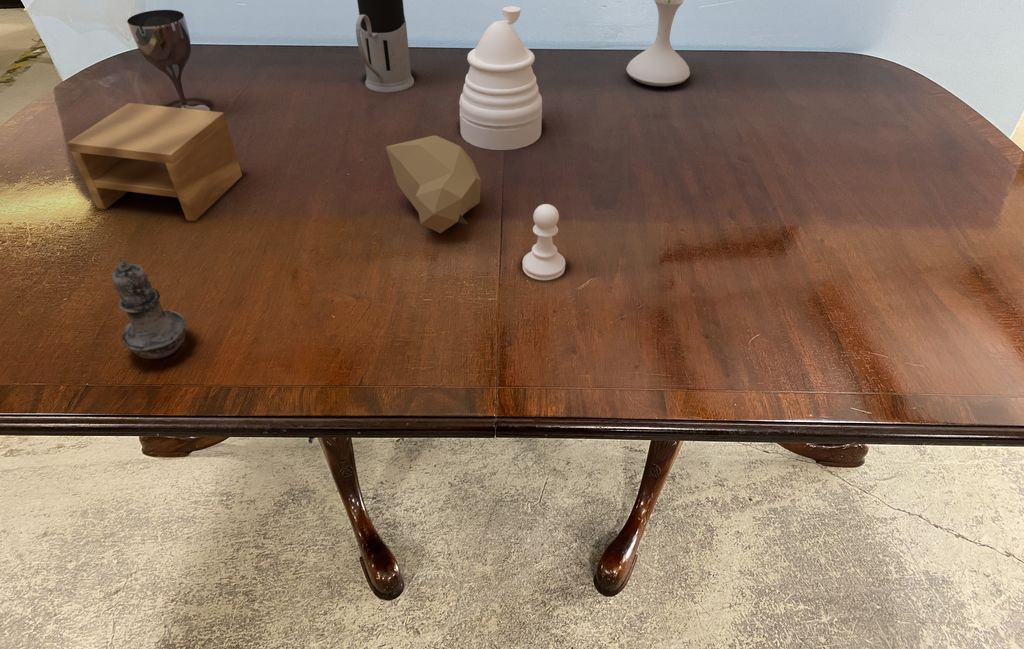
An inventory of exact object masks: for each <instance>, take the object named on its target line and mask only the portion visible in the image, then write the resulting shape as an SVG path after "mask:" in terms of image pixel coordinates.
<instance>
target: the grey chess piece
mask: <svg viewBox="0 0 1024 649" xmlns="http://www.w3.org/2000/svg"><path fill="white" fill-rule="evenodd" d="M117 265H118V267H117V268H115V269H114V270H113V272H112V273H111V282H112V284H113V286H114V289H115V290H116V293H117V295H118V296H119V298H120V299H119V301H118V306H119V309H120V310H121V311H123V312H125V313H126V314H127V317H128V319H129V321H130V322H129V323H128V324H127V325H126V326H125V327H124V329H123V330H122V333H121V335H120V338H121V343H122V344H123V346H124V347H125V348H127V349H128V350H130V351H131V352H133V354H135V355H137V356H138V357H140V358H142V359H147V360H148V359H149V360H159V359H164V358H167V357H169V356H171V355H172V354H174V353H176V352H177V351H178V350H179V349H180V348H181V347H182V345H183V344H184V342H185V338H186V327H187V321H186V318H185V317H184V316H183V315H182V314H181V313H179V312H178V311H174V310H169V309H168V310H167V309H164V308H163V307H162V304H161V302H160V299H161V293H160V292H159V290H158V289H156V288H153V285H152V283H151V282H150V279H149V278H148V275H147V273H146V271H145V269H144V268H143V267H142V266H140V265H139V264H136V263H128V262H127V261H126V260H124V259H119V261H118V264H117Z"/></svg>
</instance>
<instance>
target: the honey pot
mask: <svg viewBox="0 0 1024 649" xmlns="http://www.w3.org/2000/svg"><path fill="white" fill-rule="evenodd" d="M521 11H522V9H521V7H519V6H515V5H509V6H504V7H502V15H503V18H504V20H496V21H494V22H492V23H491V24H490V25H489V26H488V27H487V28H486V30H485V31H484V33H483V34H482V36H481V38H480V40H479V42H478V43H477V46H476V47H475V48H473V49H471V50H470V51H469V52H468V53H467V57H466V60H467V62H468V64H469V65H470V66H469V68H468V72H467V73H466V75H465V78H464V84H463V88H462V92H461V94H460V97H459V103H458V104H459V127H460V128H459V130H460V132H459V133H460V135H461V138H462V139H463V140H464V141H465V142H466V143H468V144H470V145H472V146H474V147H477V148H480V149H485V150H492V151H510V150H511V151H512V150H518V149H522V148H525V147H529V146H530V145H533V144H534V143H536V142H537V141H538V140H539V139H540V137H541V135H542V123H543V122H542V121H543V98H542V95H541V94H540V92H539V85H538V83H537V76H536V75H535V73H534V70H533V67H532V65H533V64H534V62H535V60H536V58H535V54H534V52H533V51H532V50H530V49H529V48H527V47H525V46H524V44H523V41H522V40H521V38H520V36H519V34H518V33H517V31H516V30H515V28H514V27H513V26H512V25H513V24H515V23H516V22H517V21H518V20H519V18H520V16H521Z"/></svg>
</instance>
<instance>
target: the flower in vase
mask: <svg viewBox="0 0 1024 649" xmlns="http://www.w3.org/2000/svg"><path fill="white" fill-rule="evenodd" d="M653 1H654V3H655V5H656V8H657V13H658V24H657V32H656V37H655V40H654V42H653V43H652V44H651V46H649V47H648V48H647V49H645V50H643V51H642V52H640V53H638V55H636V56H634V57H633V58H632V59H631V60H630V61H629V62H628V63H627V66H626V68H625V70H626V73H627V74H628V76H629V77H630V78H631V79H632V80H634V81H636V82H638V83H640V84H644V85H647V86H652V87H669V86H674V85H675V86H676V85H679V84H682V83H684V82H685V81H686V80H688V78H689V77H690V75H691V72H690V71H691V70H690V67H689V64H688V63H687V62H686V61H685V60H684V58H683V57H682V56H681V55H680V54H679V53H678V52H677V51H676V50H675V49H674V48H673V47H672V45H671V38H670V37H671V31H672V26H673V22H674V18H675V16H676V14H677V11H678V9H679V8H680V7H681V6H682V4H683V3H684V2H685V0H653Z"/></svg>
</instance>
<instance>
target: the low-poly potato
mask: <svg viewBox="0 0 1024 649" xmlns="http://www.w3.org/2000/svg"><path fill="white" fill-rule="evenodd" d="M385 149H386V152H387V156H388V159H389V162H390V165H391V170H392V172H393V175H394V178H395V182H396V185H397V186H398V187H399V188H400V190H401V191H402V193H403V194H404V195H405V197H406V198H407V199H408V201H409V202H410V204H411V205H412V206H413V207H414V209H415V210H416V212H417V213H418V217H419V224H420V225H421V226H423V227H425V228H427V229H430V230H431V231H435V232H437V233H439V234H442V233H443V232H445V231H446V230H448V229H449V228H451V227H452V226H454V225H455V224H462V225H469V223H468V222H467V221H466V219H465V218H464V217H463V216H464V215H465V214H467V213H468V212H469V211H470V210H472V209H473V208H475V207H476V206H477V205H478V204H480V203H481V189H482V188H481V187H482V180H481V177H480V175H479V172H478V170H477V168H476V165H475V163H474V161H473V159H472V158H471V157H470V156H469V155H468V153H467V152H466V150H464V149H463V147H462V146H461V145H459V144H456V143H454V142H452V141H450V140H447V139H445V138H442V137H441V136H438V135H436V134H434V135H429V136H426V137H425V136H424V137H421V138H417V139H412V140H409V141H403V142H399V143H395V144H391V145H387V146H385Z"/></svg>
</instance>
